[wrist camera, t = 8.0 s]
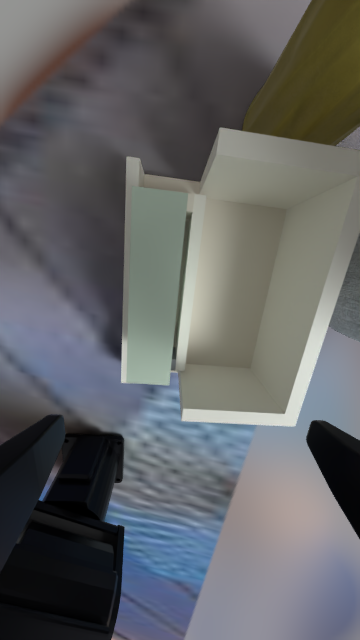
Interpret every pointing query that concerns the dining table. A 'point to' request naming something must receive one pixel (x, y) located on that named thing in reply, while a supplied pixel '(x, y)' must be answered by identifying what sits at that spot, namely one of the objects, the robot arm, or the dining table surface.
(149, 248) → the door
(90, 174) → the dining table surface
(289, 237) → the cabinet
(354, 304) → the planter
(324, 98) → the vase
